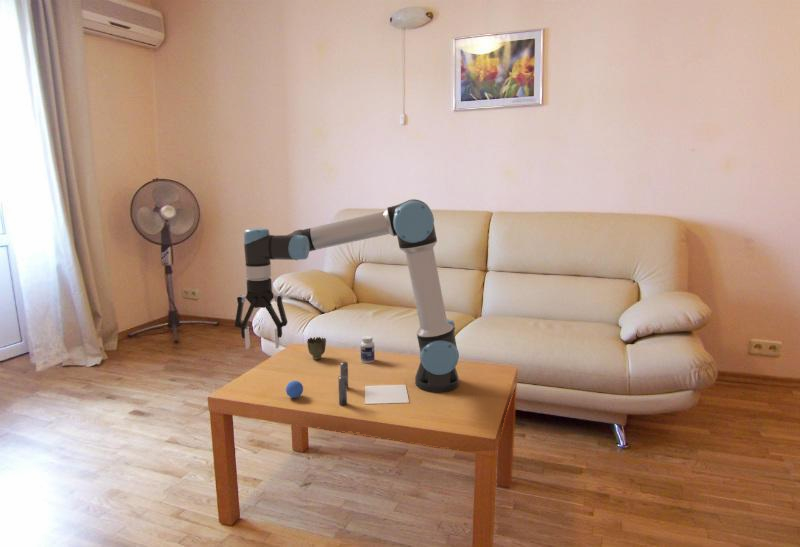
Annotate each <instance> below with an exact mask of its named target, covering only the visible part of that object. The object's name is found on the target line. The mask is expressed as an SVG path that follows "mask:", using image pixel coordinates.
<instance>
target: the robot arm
mask: <svg viewBox="0 0 800 547" xmlns="http://www.w3.org/2000/svg"><path fill="white" fill-rule="evenodd" d="M387 235H390V236H392V237H397V242H398V246H399V247H398V248H399V250H401V251H402V252H403V253H405V256H406V263H407V266H408V272H409V277H410V281H411V287H412V293H413V297H414V303H415V307H416V312H417V318H418V323H419V328H418V329H417V330H416V337H417V342H418V347H419V352H420V356H419V359H420V360H419V361H420V362H419V365H418V369H417V371H416V374H415V378H414V383H415V386H416V387H417V388H419V390H423V391H426V392H431V393H445V392H446V391H447V392H450V390H451V391H453V389H454V390H456V389H457V388H458V387H459V385H460V384H459V382H460V378H459V375H458V371H457V368H456V366H457V365H458V362H459V357H460V354H459V349H458V347H457V341H456V336H455V334H456V333H455V332H456V331H455V330H456V326H455V322H454V321H453V320H451V319H448V318H447V314H446V308H445V304H444V299H443V294H442V293H443V292H442V286H441V283H440V277H439V271H438V266H437V260H436V255H435V251H434V250H435V249H434V247H435V245H436V244H437V242H438V238H437V233H436V228H435V218H434V214H433V212H432V210H431V208H430V206H428V204H427V202H424V201H422V200H419V199H416V198H415V199H408V200H406V201H404V202H401V203H399V204H396V205H393V206H389V207H386V208H385V210H384V211H380V212H374V213H371V214H368V215H363V216H359V217H353V218H350V219H344V220H339V221H335V222H332V223H325V224H322V225H318V226H313V227H310V228H305V229H296V230H294V231H293V232H291V233H288V234H286V235H285V234H284V235H283V234H282V235H281V234H279V235H277V234H276V235H273V234H270V230H269V229H268V228H263V227H262V228H261V227H260V228H259V227H257V228H248V229H245V231H244V235H243V239H244V240H243V241H244V242H243V246H244V258H245V259H244V260H245V276H246V277H245V278H247V280H246V292H247V293H246V295H241V294H240V295H238V296H237V298H236V300H237V309H236V314H235V315H236V316H235V322H234V327H235V328H240V331H241V333H240V334H241V338H242V339H244V340H245V350H248V349H249V348H250V347H251V342H250V339H251V338H250V327H249V326H247V325H248V323H249V321H250V318H251V317H252V314H253V311H254V309H259V308H262V309H263V308H264V309H266V311H267V312H268V314H269V316H270V317H271V319H272V321H273V322H274V324H275V326H274V340H275V341H274V342H275V345H274V346H275V349H279V347H280V338H282V336H283V328H284V327H286V326H287V325H288V319H287V315H286V312H285V308H284V303H283V294H279V295H278V294H274V293H273V284H272V278H271V276H272V268H271V266H272V265H271V260H272V261H273V260H275V261H276V260H281V261H282V260H284V261H285V260H286V261H287V260H288V261H290V260H291V261H299V260H302V261H303V260H307V259H308V257H309V255H310V252H314V251H317V250H321V249H326V248H331V247H336V246H341V245H345V244H349V243H354V242H358V241H363V240H369V239H371V238H373V239H374V238H377V237H383V236H387ZM273 299H274V301H275V302H276V304H277V305H276V306H277V310H278V313H279V316H278V314H277V312H276V311H275V309H274V307H273V304H272V300H273ZM246 300H247V301H248V303H249V306H248V310H247V312H246V314H245V316H244V319H243V321H242V317H243V312H244V304H245V302H246ZM455 388H456V389H455ZM447 392H446V393H447Z"/></svg>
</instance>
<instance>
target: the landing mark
mask: <svg viewBox="0 0 800 547" xmlns="http://www.w3.org/2000/svg"><path fill="white" fill-rule="evenodd" d="M364 388H365V389H364V405H384V404H409V403H410V401H409V396H408V389H407V385H406V384H388V385H387V384H384V385H383V384H382V385H381V384H379V385H365V386H364Z"/></svg>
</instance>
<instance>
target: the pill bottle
mask: <svg viewBox="0 0 800 547" xmlns="http://www.w3.org/2000/svg"><path fill="white" fill-rule="evenodd" d="M361 338H362V339H361V340H362V342H361V343H360V362H362V363H363V364H371V362H372V363H373V362H375V342H374V341H373V339H374V338H373V336H371V335H364V336H362V337H361Z"/></svg>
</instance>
